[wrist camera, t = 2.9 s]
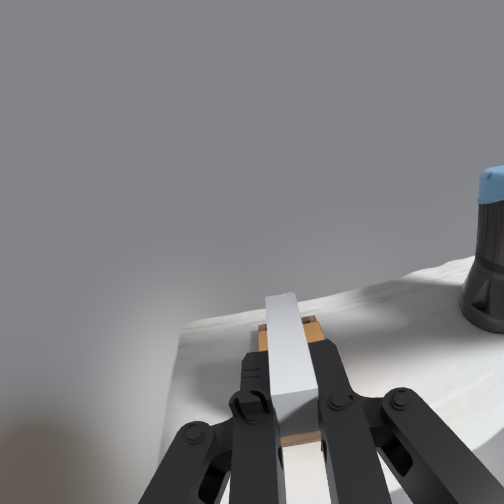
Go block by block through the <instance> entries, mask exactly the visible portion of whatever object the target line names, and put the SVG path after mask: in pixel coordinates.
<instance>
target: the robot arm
mask: <svg viewBox="0 0 504 504" xmlns="http://www.w3.org/2000/svg"><path fill="white" fill-rule="evenodd" d="M477 202H478V203H479V213H478V214H479V215H478V231H477V243H476V254H475V260H474V263H473V265H472V267H471V269H470V271H469V274H468V276H467V278H466V280H465V282H464V284H463V286H462V289H461V295H460V301H459V304H460V308H461V311H462V312H463V314H464V315H465V316H466V318H467V319H469V320H470V321H471V322H472V323H474V324H475V325H477V326H479V327H481V328H483V329H485V330H488V331H492V332H497V333H504V166H497V167H492V168H488V169H485V170H484V171H483V172H482V173H481V174H480V177H479V195H478V199H477ZM265 304H266V320H267V337H268V350H266V351H259V352H251V353H247V354H246V356H245V357H244V359H243V361H242V372H241V386H240V391H238V392H236V393H235V394H234V395H233V396H232V397H231V398H230V401H229V406H230V409H231V411H232V413H233V417H232V418H230V419H229V420H227V421H224V422H222V423H219V424H215V425H212V426H210V425H209V424H208V423H205V422H202V421H193V422H190V423H187V424H185V425H184V426H182V427H181V428H180V430H179V431H178V432H177V434H176V436H175V438H174V440H173V441H172V443H171V445H170V447H169V449H168V451H167V453H166V454H165V456H164V458H163V460H162V462H161V463H160V465H159V467H158V469H157V471H156V473H155V474H154V476H153V478H152V480H151V482H150V484H149V485H148V487H147V489H146V491H145V492H144V494H143V496H142V498H141V500H140V501H139V503H138V504H220V501H221V499H222V496H223V494H224V491H225V488H226V486H227V483H228V480H229V478H230V493H229V504H286V491H285V476H284V462H283V449H282V445H281V437H285V436H292V435H299V434H305V433H311V432H316V431H320V434H321V451H323V456H324V462H325V468H326V474H327V480H328V486H329V492H330V498H331V504H392V502H391V498H390V494H389V491H388V487H387V484H386V480H385V477H384V474H383V470H382V467H381V464H380V461H379V457H378V454H377V452H378V453H379V455H380V456H381V458H382V459H383V461H384V462H385V463H386V465H387V466H388V468H389V469H390V471H391V472H392V474H393V475H394V476H395V478H396V479H397V481H398V482H399V484H400V485H401V487H402V488H403V489H404V491H405V492H406V494H407V495H408V497H409V498H410V499H411V501H412V502H413V504H504V488H503V486H502V485H501V484H500V483H499V482H498V480H497V479H496V478H495V477H494V476H493V475H492V474H491V473H490V472H489V470H488V469H487V468H486V467H485V466H484V465H483V464H482V463H481V461H480V460H479V459H478V458H477V457H476V456H475V455H474V454H473V453H472V452H471V451H470V449H469V448H468V447H467V446H466V445H465V444H464V443H463V442H462V441H461V440H460V439H459V438H458V436H457V435H456V434H455V433H454V432H453V431H452V430H451V429H450V428H449V427H448V426H447V425H446V424H445V423H444V421H443V420H442V419H441V418H440V417H439V416H438V415H437V414H436V413H435V412H434V411H433V410H432V409H431V408H430V407H429V406H428V405H427V404H426V402H425V401H424V400H423V399H422V398H421V397H420V396H419V395H418V394H417V393H416V392H414V391H413V390H412V389H409V388H405V387H402V388H395V389H392V390H390V391H389V392H388V393H386V394H385V396H384V397H381V398H370V397H363V396H360V395H358V394H357V393H355V392H354V391H353V390H352V388H351V386H350V383H349V381H348V378H347V375H346V372H345V369H344V367H343V364H342V362H341V358H340V356H339V353H338V350H337V348H336V345H335V344H334V343H332V342H331V341H330V340H329V339H325V340H320V341H315V342H310V343H307V340H306V336H305V332H304V328H303V324H302V320H301V316H300V312H299V309H298V305H297V301H296V298H295V293H294V292H292V293H286V294H281V295H275V296H269V297H265ZM376 450H377V451H376ZM230 475H231V477H230Z"/></svg>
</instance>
